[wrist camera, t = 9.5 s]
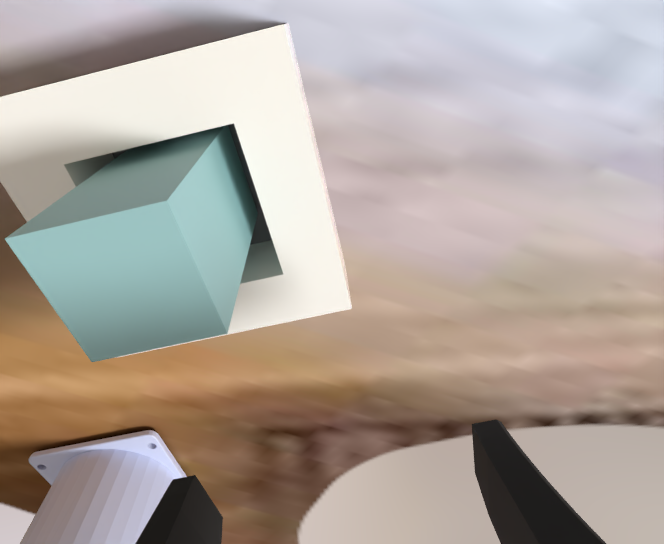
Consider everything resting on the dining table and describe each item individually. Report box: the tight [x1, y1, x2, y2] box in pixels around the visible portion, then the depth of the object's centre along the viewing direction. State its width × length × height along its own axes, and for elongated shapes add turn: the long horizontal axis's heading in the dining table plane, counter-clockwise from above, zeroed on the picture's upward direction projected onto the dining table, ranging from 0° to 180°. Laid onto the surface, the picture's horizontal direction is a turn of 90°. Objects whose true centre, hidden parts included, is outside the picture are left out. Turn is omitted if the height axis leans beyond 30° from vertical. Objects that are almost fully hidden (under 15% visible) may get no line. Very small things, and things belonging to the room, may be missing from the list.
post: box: [5, 125, 258, 362], centre depth 14 cm, size 4×4×8 cm
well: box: [0, 23, 352, 358], centre depth 16 cm, size 10×10×4 cm
